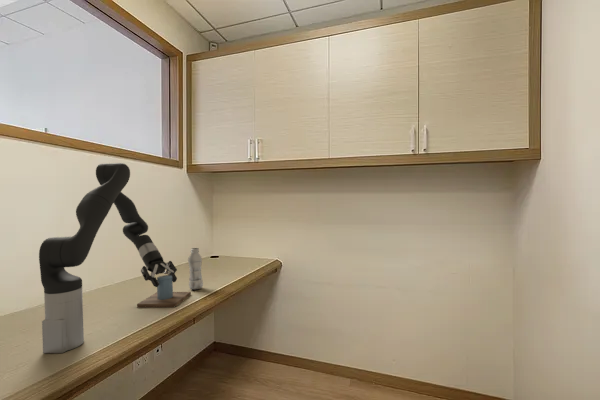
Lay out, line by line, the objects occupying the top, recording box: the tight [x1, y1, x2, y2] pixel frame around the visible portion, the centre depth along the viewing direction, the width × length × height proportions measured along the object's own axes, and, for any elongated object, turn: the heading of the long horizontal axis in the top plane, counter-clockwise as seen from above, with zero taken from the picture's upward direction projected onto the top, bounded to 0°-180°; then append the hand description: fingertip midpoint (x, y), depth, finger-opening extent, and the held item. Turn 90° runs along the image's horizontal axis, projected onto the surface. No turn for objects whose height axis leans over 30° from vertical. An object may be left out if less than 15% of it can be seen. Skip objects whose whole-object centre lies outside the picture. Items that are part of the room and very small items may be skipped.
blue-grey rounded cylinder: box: [156, 274, 174, 300], centre depth 134 cm, size 6×6×9 cm
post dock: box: [136, 291, 192, 309], centre depth 134 cm, size 16×16×8 cm
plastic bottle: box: [187, 247, 204, 291], centre depth 151 cm, size 6×7×20 cm
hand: (166, 283), depth 133 cm, fingers open, 8 cm apart
